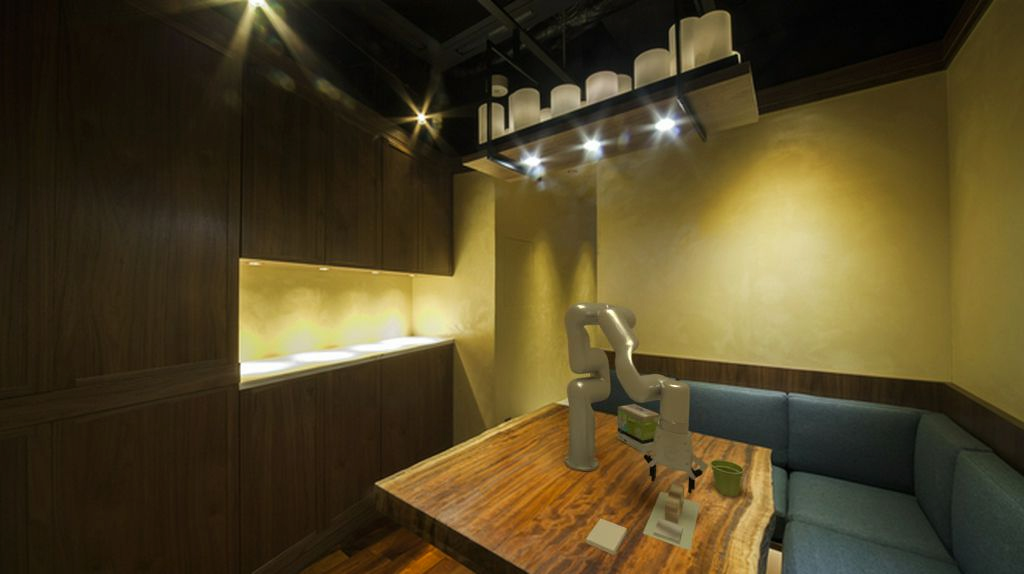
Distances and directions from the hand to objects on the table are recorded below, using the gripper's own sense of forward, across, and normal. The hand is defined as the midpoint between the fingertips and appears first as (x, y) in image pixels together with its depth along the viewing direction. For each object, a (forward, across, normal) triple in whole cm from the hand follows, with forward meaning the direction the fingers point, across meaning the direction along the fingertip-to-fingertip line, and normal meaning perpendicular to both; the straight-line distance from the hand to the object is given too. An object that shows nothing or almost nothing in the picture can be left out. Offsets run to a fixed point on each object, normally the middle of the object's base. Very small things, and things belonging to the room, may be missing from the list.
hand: (671, 484), depth 100 cm
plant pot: (+9, +13, +23) cm, 28 cm away
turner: (+8, +1, -3) cm, 8 cm away
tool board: (+8, +1, -2) cm, 9 cm away
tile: (+8, -11, -16) cm, 21 cm away
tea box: (+10, -20, +46) cm, 51 cm away
